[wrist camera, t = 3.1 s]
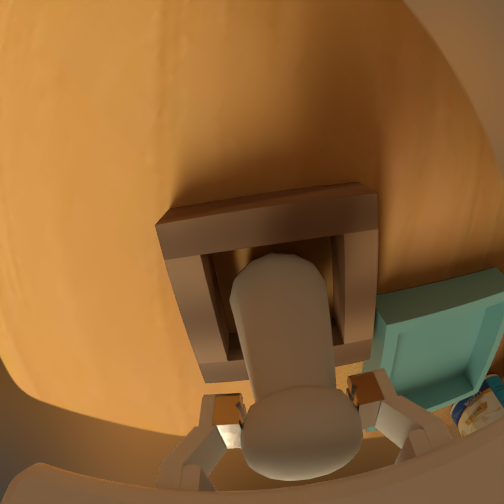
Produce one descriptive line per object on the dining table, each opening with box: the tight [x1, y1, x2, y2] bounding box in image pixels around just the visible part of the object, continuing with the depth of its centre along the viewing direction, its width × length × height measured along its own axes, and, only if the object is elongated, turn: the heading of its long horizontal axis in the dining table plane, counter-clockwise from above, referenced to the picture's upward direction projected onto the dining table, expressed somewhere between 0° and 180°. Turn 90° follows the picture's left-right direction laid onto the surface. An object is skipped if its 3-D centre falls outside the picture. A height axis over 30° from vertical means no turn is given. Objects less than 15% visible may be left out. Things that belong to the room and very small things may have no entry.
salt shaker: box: [229, 252, 363, 481], centre depth 14 cm, size 6×6×13 cm
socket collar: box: [155, 182, 378, 383], centre depth 18 cm, size 12×12×3 cm
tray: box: [362, 267, 504, 433], centre depth 21 cm, size 13×13×4 cm
